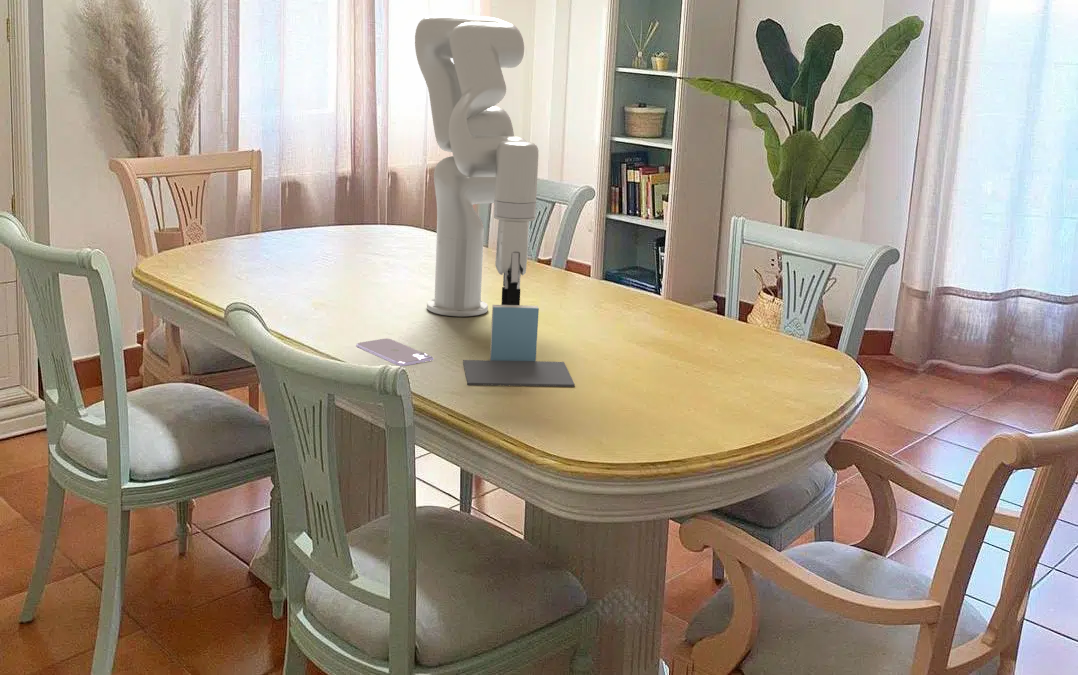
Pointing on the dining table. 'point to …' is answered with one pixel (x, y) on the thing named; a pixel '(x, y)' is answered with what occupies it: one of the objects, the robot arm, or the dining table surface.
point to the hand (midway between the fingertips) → (510, 309)
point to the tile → (514, 333)
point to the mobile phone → (394, 352)
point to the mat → (517, 373)
